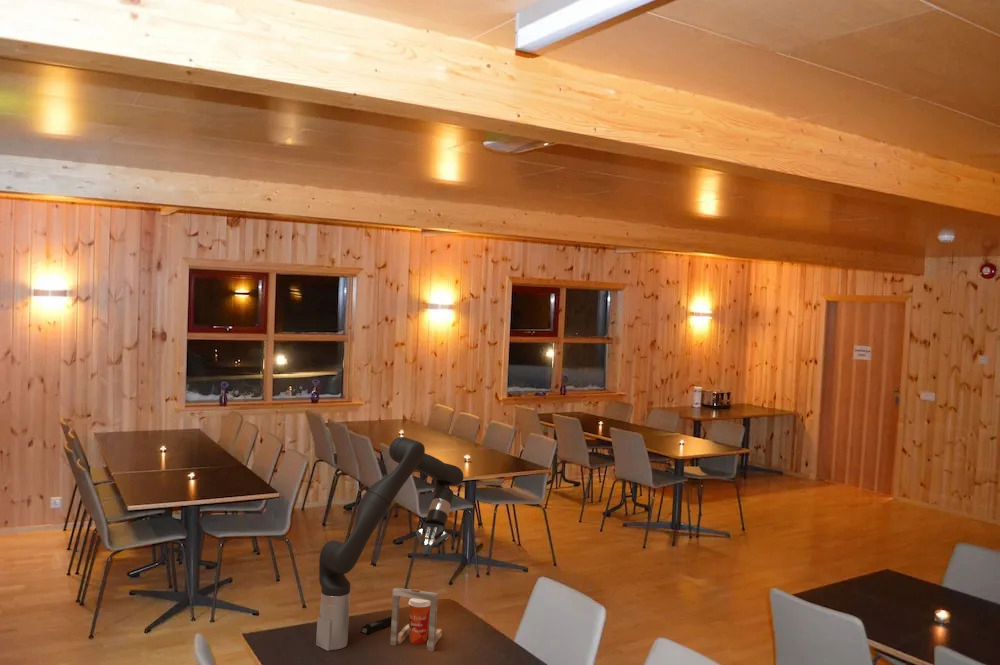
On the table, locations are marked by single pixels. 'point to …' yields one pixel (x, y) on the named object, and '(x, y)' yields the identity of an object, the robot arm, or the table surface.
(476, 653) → the table surface
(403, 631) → the guide arch
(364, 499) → the robot arm
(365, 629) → the electric trimmer
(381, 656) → the table surface
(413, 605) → the paper cup
